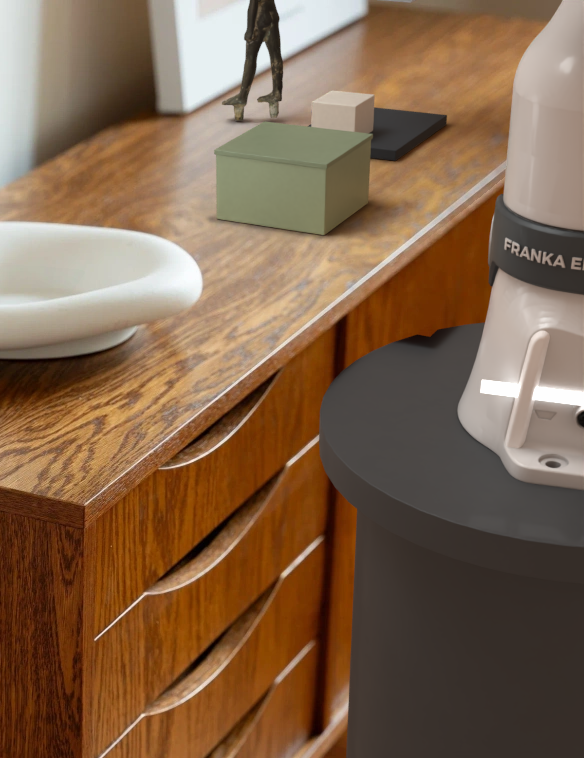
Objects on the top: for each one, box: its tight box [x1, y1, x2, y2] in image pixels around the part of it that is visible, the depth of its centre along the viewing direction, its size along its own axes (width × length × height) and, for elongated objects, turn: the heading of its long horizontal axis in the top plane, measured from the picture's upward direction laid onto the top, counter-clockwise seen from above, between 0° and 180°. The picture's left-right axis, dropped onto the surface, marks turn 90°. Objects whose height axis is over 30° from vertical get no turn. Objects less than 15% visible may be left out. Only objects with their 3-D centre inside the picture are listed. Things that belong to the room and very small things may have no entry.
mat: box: [307, 106, 448, 162], centre depth 146 cm, size 11×13×1 cm
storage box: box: [213, 121, 373, 236], centre depth 126 cm, size 10×9×6 cm
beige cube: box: [310, 89, 376, 133], centre depth 142 cm, size 4×4×4 cm
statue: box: [221, 0, 284, 122], centre depth 148 cm, size 5×6×20 cm
